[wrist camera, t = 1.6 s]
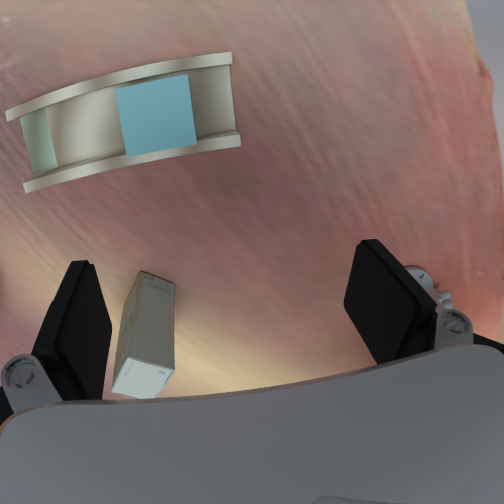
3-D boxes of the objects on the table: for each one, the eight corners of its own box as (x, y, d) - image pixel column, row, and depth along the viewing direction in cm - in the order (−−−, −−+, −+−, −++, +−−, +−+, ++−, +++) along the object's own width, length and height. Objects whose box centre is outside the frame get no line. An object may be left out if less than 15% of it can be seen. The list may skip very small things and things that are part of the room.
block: (188, 75, 23) (187, 74, 18) (195, 130, 26) (196, 144, 21) (130, 87, 23) (114, 89, 18) (139, 141, 26) (127, 157, 20)
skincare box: (140, 269, 33) (126, 354, 23) (176, 283, 35) (177, 369, 25) (122, 308, 36) (108, 392, 25) (156, 321, 37) (152, 404, 27)
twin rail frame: (226, 54, 24) (231, 51, 21) (235, 138, 28) (240, 146, 25) (21, 106, 22) (5, 111, 19) (39, 181, 26) (25, 193, 23)
